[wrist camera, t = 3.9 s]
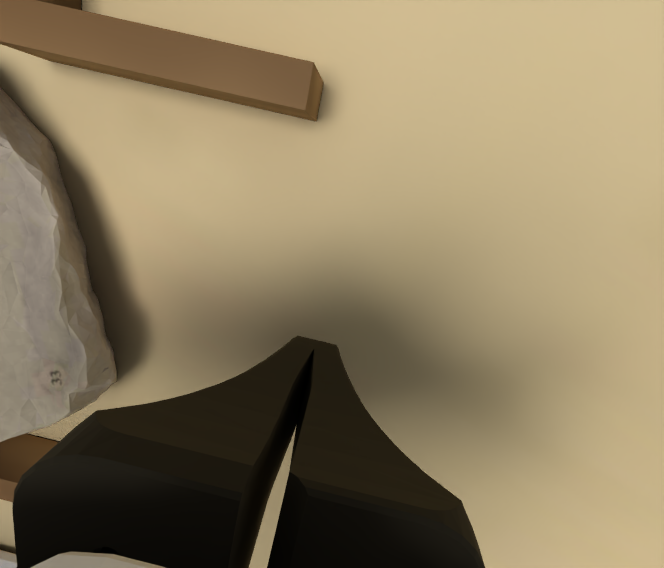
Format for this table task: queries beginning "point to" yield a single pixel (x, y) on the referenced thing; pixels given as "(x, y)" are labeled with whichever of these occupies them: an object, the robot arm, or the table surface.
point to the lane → (155, 68)
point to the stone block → (43, 289)
